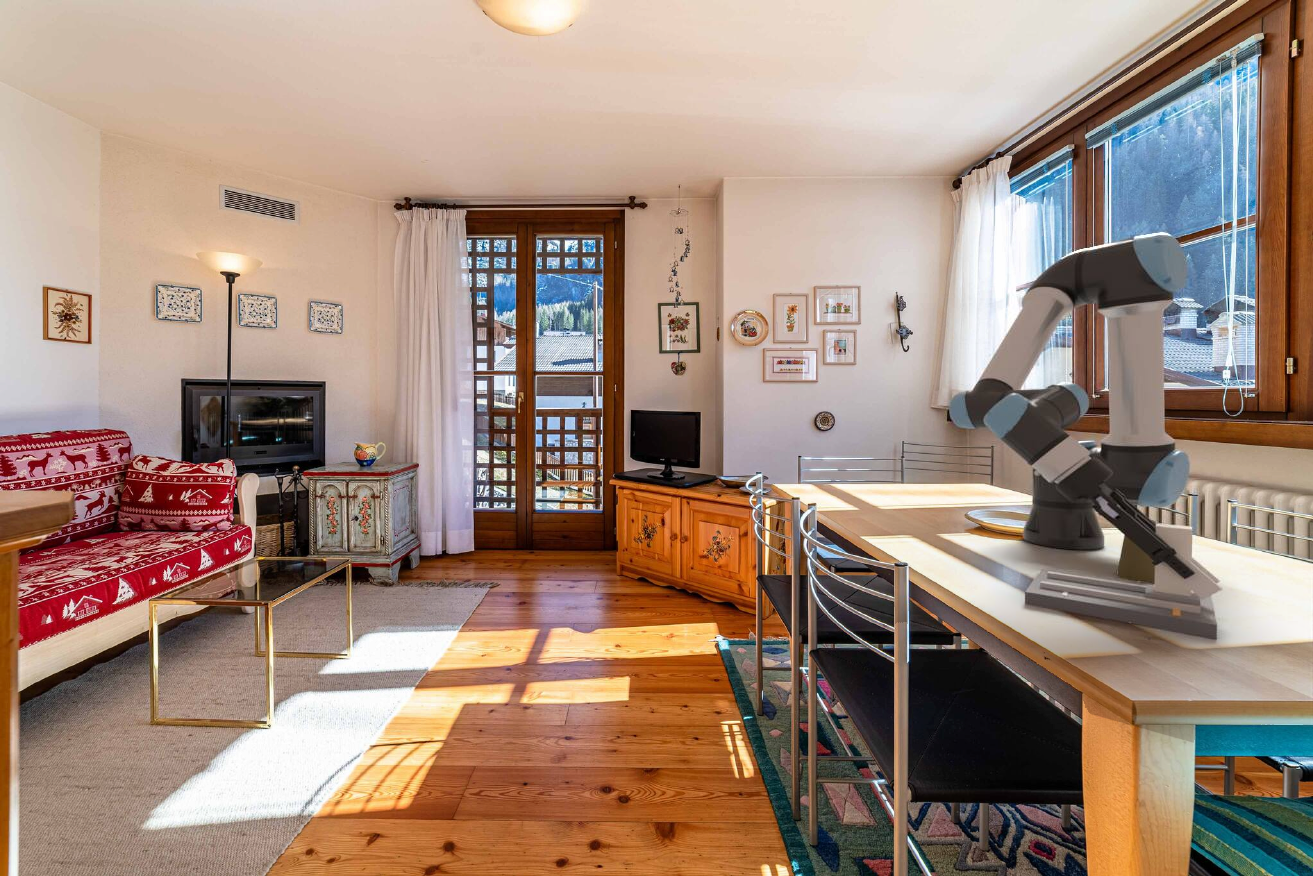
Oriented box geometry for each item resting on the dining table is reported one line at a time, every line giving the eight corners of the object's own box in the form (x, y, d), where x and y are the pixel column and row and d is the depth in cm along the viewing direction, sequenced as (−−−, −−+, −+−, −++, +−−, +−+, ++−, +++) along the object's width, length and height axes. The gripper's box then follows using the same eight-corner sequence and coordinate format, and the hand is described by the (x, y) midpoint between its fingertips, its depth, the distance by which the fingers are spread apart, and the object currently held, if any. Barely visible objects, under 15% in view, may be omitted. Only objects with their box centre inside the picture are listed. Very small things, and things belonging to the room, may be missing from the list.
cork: (1168, 583, 99) (1170, 521, 98) (1129, 582, 100) (1130, 521, 99) (1146, 573, 105) (1147, 515, 104) (1109, 572, 106) (1110, 514, 105)
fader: (1146, 591, 88) (1147, 521, 88) (1199, 599, 84) (1201, 526, 84) (1145, 599, 85) (1146, 526, 84) (1200, 608, 81) (1202, 532, 80)
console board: (1041, 579, 102) (1041, 564, 102) (1210, 606, 88) (1211, 588, 87) (1024, 603, 91) (1024, 586, 91) (1216, 639, 76) (1217, 619, 76)
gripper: (1060, 479, 100) (1184, 589, 90) (1044, 491, 88) (1186, 620, 77) (1098, 451, 96) (1233, 562, 86) (1087, 459, 84) (1243, 590, 73)
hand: (1211, 589), depth 82 cm, fingers open, 4 cm apart
